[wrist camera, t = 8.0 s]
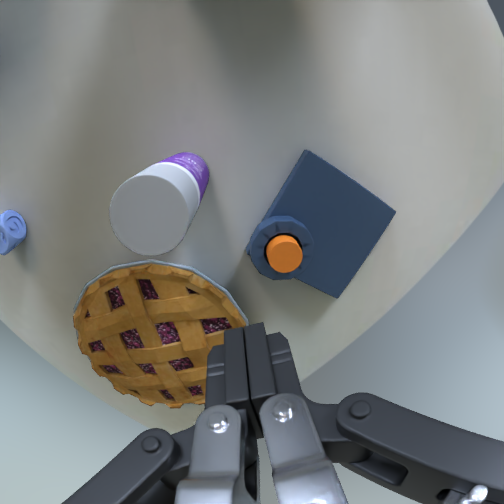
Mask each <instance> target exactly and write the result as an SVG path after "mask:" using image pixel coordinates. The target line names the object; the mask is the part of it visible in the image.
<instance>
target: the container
mask: <svg viewBox="0 0 504 504" xmlns="http://www.w3.org/2000/svg"><path fill="white" fill-rule="evenodd" d="M208 181H209V169H208V166H207V164H206V162H205V161H204V160H203V159H202V158H201V157H200V156H198V155H196V154H194V153H190V152H183V153H179V154H176V155H174V156H171V157H169V158H167V159H165V160H162V161H160V162H158V163H156V164H154V165H151V166H150V167H148V168H146V169H145V170H143V171H141V172H140V173H138V174H136V175H135V176H133V177H132V178H130V179H128V180H127V181H125V182H124V183H123V184H122V185H121V186H120V187H119V188H118V189H117V190H116V192H115V193H114V195H113V197H112V200H111V203H110V209H109V217H110V223H111V227H112V229H113V232H114V234H115V235H116V237H117V238H118V240H119V241H120V242H121V243H122V244H123V245H124V246H125V247H126V248H128V249H129V250H131V251H133V252H135V253H138V254H141V255H145V256H157V255H162V254H165V253H167V252H169V251H171V250H173V249H174V248H175V247H176V246H178V245H179V243H180V242H181V241H182V240H183V238H184V236H185V234H186V232H187V230H188V228H189V226H190V224H191V222H192V220H193V218H194V216H195V214H196V212H197V210H198V207H199V205H200V202H201V200H202V197H203V194H204V192H205V189H206V187H207V184H208Z"/></svg>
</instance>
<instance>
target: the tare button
mask: <svg viewBox="0 0 504 504" xmlns="http://www.w3.org/2000/svg"><path fill="white" fill-rule="evenodd" d="M266 254H267V257H268V261H269V264H270V266H271V267H272V268H273V269H274V270H276V271H278V272H281V273H287V272H291V271H293V270H295V269H296V268H297V267H298V266H299V265H300V263H301V261H302V257H303V253H302V250H301V248H300V246H299V244H298V243H297V241H296V240H295V239H294V238H293V237H291V236H289V235H279V236H276V237H274V238H273V239H272V240H271V241H270V242H269V243H268V245H267V249H266Z"/></svg>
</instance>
